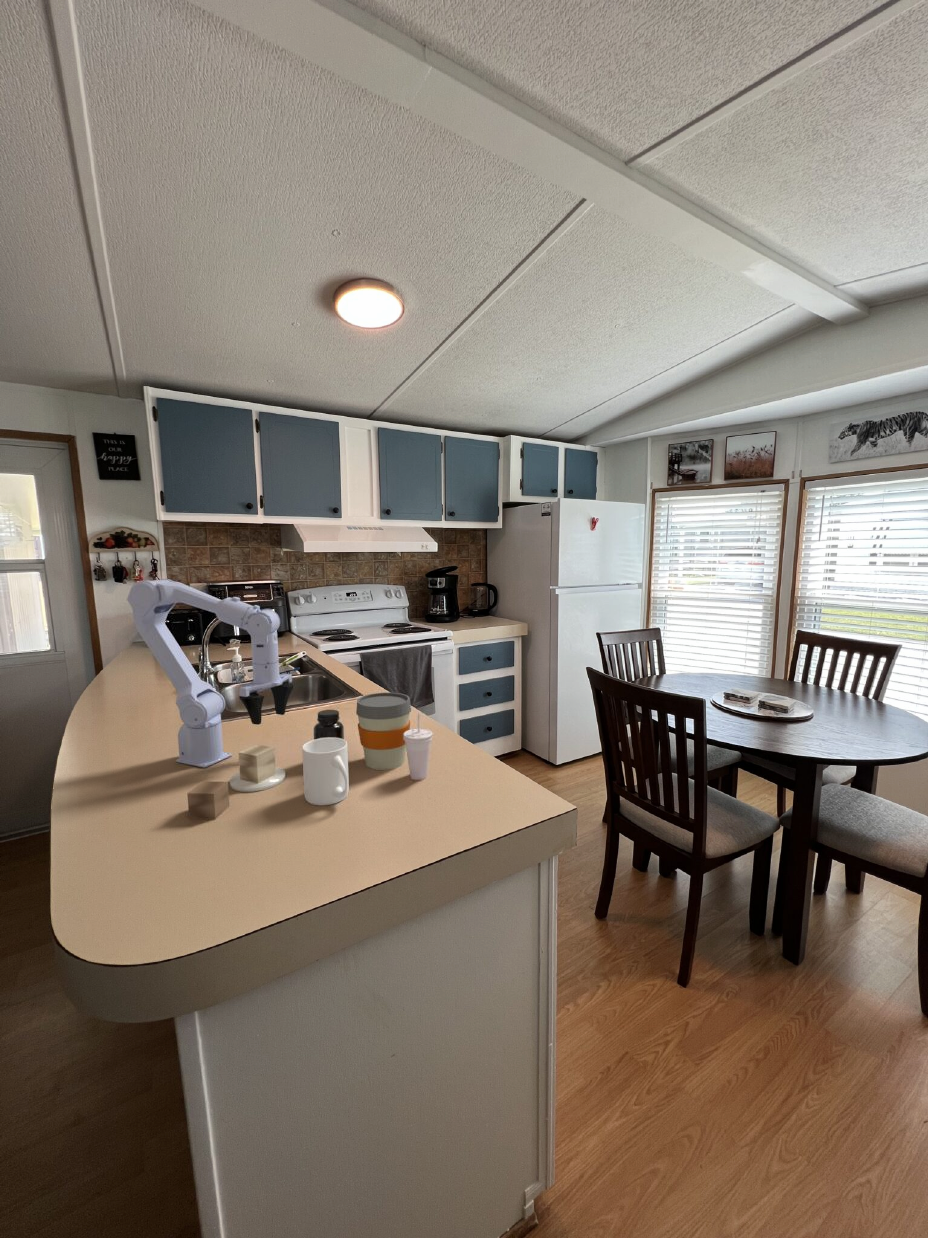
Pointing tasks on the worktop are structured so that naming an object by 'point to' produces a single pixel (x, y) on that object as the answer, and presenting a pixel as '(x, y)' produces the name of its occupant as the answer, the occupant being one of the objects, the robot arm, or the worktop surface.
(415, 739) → the smoothie
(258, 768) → the beech block
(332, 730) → the supplement bottle
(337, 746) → the mug
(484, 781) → the worktop surface
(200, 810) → the walnut block
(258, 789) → the coaster
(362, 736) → the reusable coffee cup
